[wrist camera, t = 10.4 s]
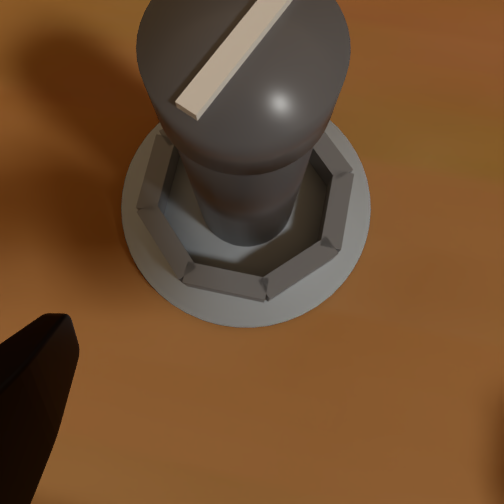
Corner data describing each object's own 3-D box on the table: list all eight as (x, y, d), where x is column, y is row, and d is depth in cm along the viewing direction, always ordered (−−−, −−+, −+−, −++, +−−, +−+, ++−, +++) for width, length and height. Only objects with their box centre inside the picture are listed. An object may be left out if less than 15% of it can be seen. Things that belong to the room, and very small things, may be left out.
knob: (259, 270, 21) (272, 180, 9) (176, 213, 22) (88, 60, 10) (315, 190, 22) (393, 13, 10) (234, 137, 23) (218, -88, 11)
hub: (346, 352, 21) (357, 353, 19) (95, 298, 21) (77, 293, 19) (383, 119, 24) (397, 97, 22) (159, 75, 24) (150, 49, 22)
